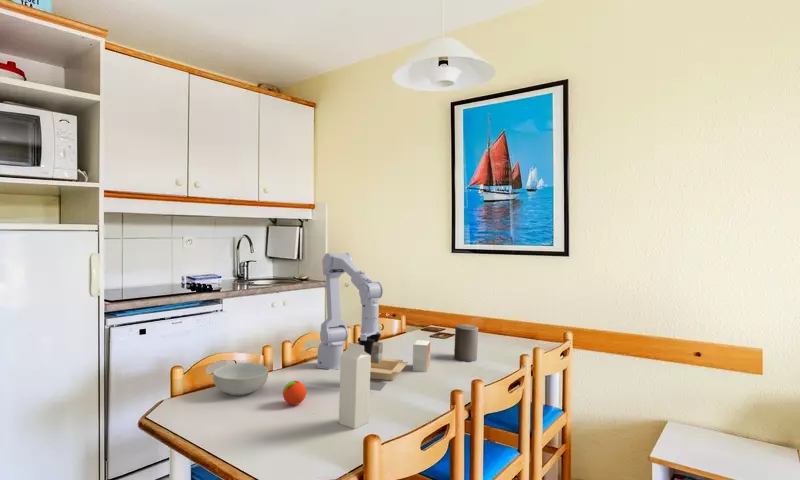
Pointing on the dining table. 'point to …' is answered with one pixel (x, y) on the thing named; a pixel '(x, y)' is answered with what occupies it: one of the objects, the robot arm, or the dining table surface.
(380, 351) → the block
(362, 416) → the milk
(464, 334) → the pillar candle
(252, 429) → the dining table surface
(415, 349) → the small box
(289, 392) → the clementine
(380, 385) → the mat
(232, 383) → the cereal bowl
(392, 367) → the tan shallow tray
